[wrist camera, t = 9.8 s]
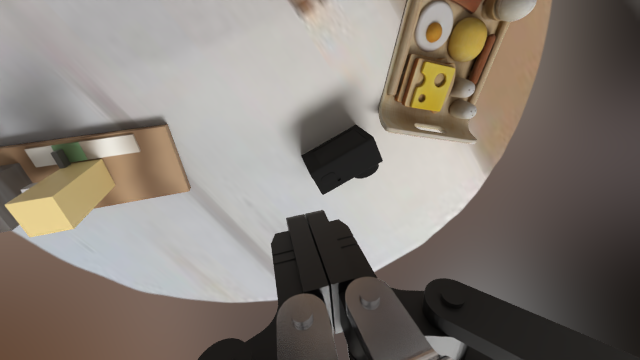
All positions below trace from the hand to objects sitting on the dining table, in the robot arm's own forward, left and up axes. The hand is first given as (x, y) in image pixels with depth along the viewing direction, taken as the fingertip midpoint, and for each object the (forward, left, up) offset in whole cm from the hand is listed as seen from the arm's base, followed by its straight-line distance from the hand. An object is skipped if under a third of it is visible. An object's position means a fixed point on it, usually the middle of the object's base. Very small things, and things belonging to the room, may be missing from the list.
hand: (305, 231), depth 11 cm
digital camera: (+14, +4, -31) cm, 34 cm away
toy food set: (+11, +27, -31) cm, 43 cm away
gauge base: (-6, -24, -31) cm, 39 cm away
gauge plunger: (-8, -25, -29) cm, 40 cm away
